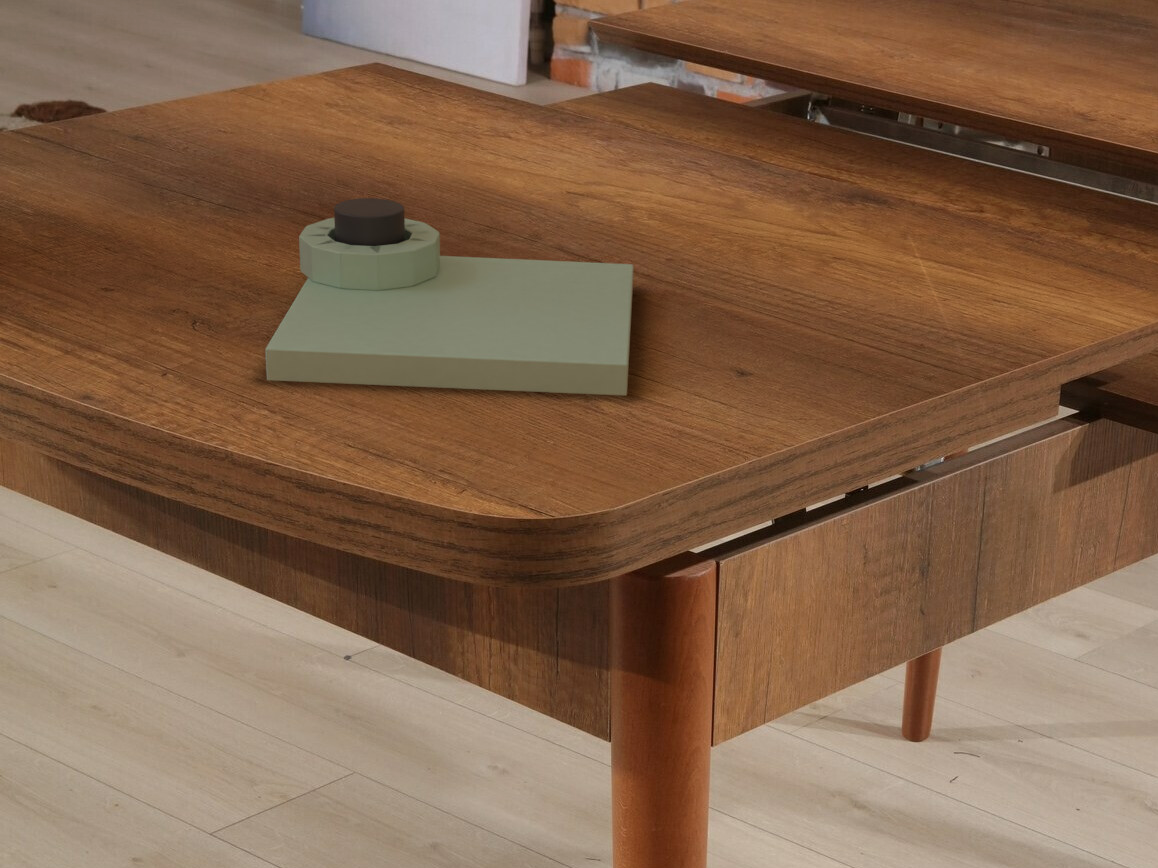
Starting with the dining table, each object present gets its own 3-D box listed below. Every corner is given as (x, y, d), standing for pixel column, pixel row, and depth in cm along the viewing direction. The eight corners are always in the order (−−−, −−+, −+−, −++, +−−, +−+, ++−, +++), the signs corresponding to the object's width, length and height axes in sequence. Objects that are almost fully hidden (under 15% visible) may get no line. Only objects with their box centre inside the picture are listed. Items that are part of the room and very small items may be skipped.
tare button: (329, 250, 76) (328, 215, 75) (341, 230, 79) (340, 196, 78) (399, 253, 76) (399, 218, 75) (409, 233, 79) (408, 199, 78)
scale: (254, 381, 69) (250, 308, 68) (316, 276, 81) (314, 212, 80) (626, 397, 69) (629, 324, 68) (632, 290, 81) (635, 226, 80)
